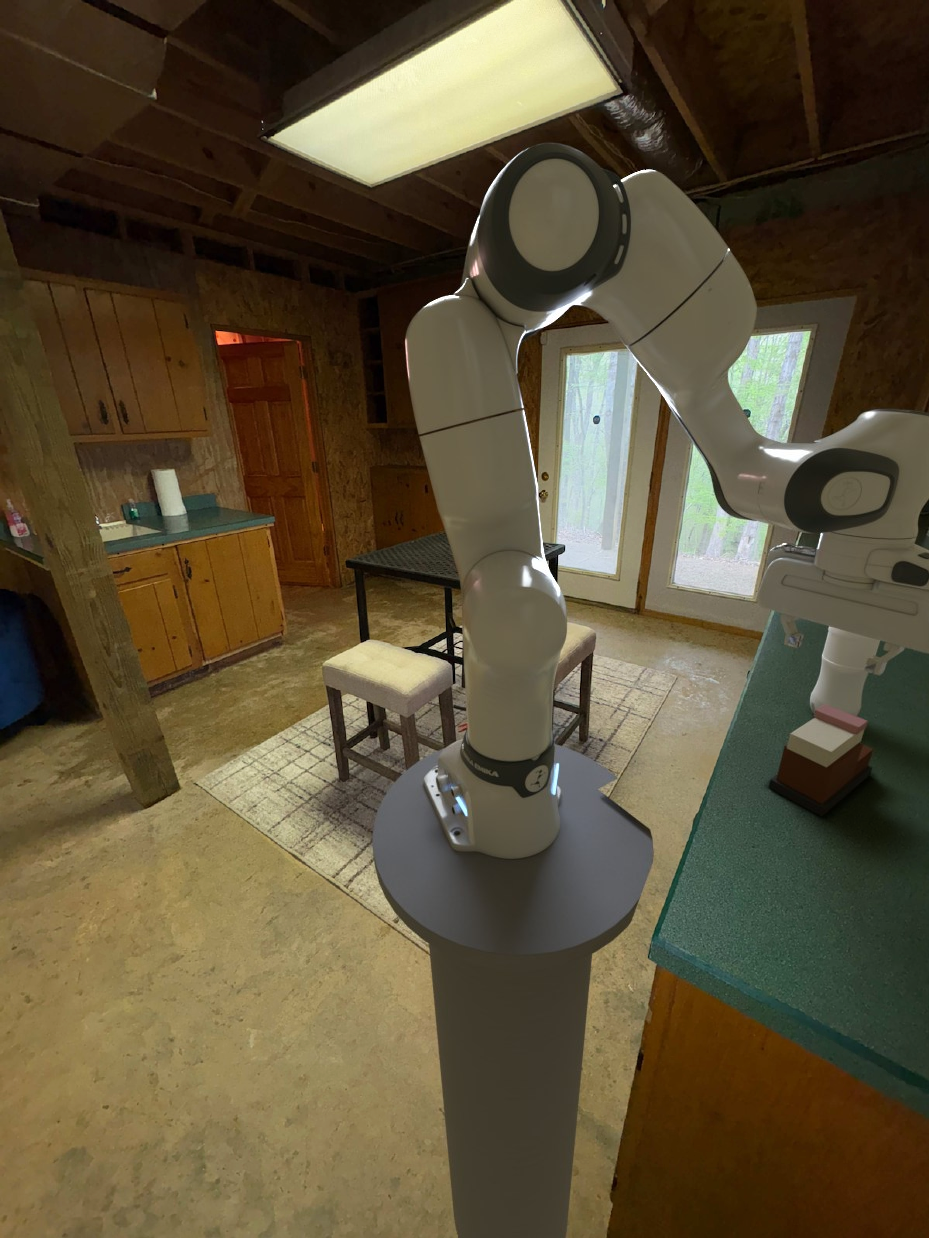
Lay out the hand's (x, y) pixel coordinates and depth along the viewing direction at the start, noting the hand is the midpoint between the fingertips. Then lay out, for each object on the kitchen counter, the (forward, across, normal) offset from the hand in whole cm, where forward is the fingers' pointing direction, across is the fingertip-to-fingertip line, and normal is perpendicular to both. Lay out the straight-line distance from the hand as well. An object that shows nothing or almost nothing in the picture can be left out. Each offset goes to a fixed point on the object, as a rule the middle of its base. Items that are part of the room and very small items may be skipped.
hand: (830, 658), depth 63 cm
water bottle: (+21, -5, +24) cm, 32 cm away
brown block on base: (+21, +2, +4) cm, 21 cm away
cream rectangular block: (+13, +2, +2) cm, 14 cm away
